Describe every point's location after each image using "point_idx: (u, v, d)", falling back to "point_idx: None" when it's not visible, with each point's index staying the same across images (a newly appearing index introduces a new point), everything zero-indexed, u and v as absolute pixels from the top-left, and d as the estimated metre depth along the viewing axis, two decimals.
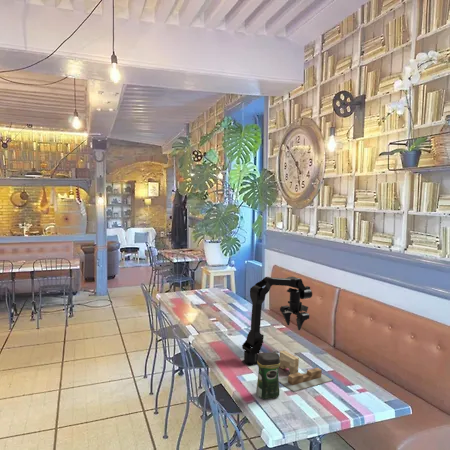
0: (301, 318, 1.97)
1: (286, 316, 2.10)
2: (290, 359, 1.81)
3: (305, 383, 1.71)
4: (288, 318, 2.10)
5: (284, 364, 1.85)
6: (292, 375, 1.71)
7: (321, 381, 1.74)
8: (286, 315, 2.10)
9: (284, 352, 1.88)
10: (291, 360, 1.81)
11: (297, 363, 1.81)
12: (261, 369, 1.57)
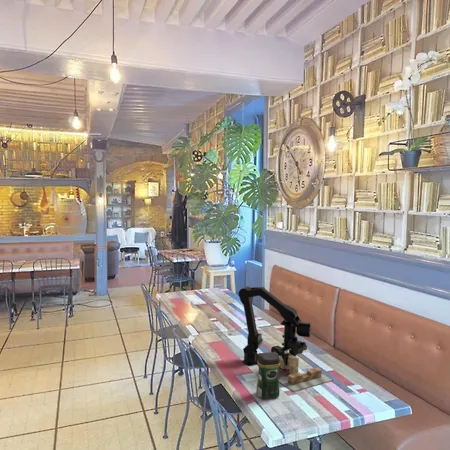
0: (271, 350, 1.82)
1: (290, 353, 1.87)
2: (290, 359, 1.81)
3: (305, 383, 1.71)
4: None
5: (284, 364, 1.85)
6: (292, 375, 1.71)
7: (321, 381, 1.74)
8: (290, 352, 1.87)
9: None
10: (291, 360, 1.81)
11: (297, 363, 1.81)
12: (261, 369, 1.57)
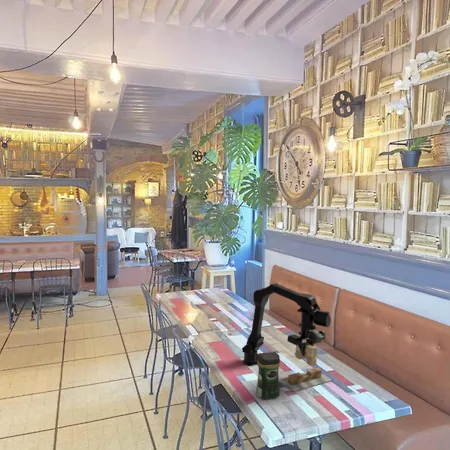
0: None
1: (307, 342, 1.76)
2: (308, 349, 1.70)
3: (305, 383, 1.71)
4: None
5: (301, 354, 1.75)
6: (292, 375, 1.71)
7: (321, 381, 1.74)
8: (307, 341, 1.76)
9: None
10: (309, 350, 1.70)
11: (315, 353, 1.70)
12: (261, 369, 1.57)
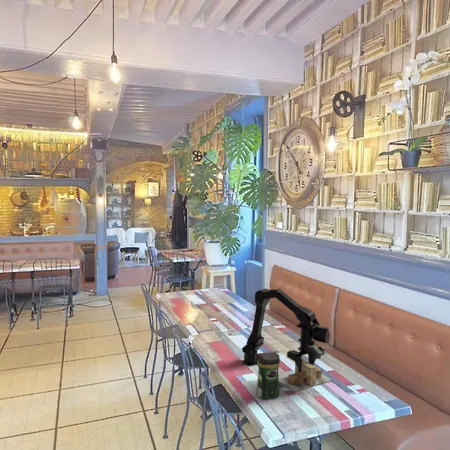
0: (287, 355, 1.72)
1: (309, 357, 1.77)
2: (307, 368, 1.71)
3: (305, 383, 1.71)
4: (311, 361, 1.76)
5: None
6: (292, 375, 1.71)
7: (321, 381, 1.74)
8: (309, 356, 1.77)
9: None
10: (308, 369, 1.70)
11: (314, 372, 1.70)
12: (261, 369, 1.57)
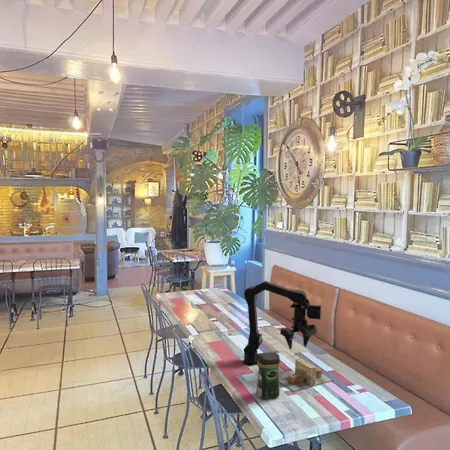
0: None
1: None
2: (307, 368, 1.71)
3: (305, 383, 1.71)
4: (305, 339, 1.87)
5: None
6: (292, 375, 1.71)
7: (321, 381, 1.74)
8: None
9: (300, 360, 1.77)
10: (308, 369, 1.70)
11: (314, 372, 1.70)
12: (261, 369, 1.57)
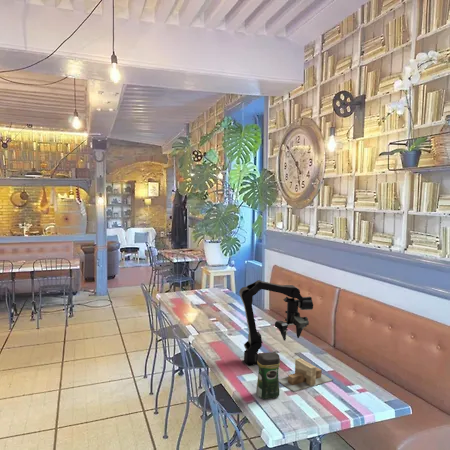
0: (275, 324, 1.93)
1: (297, 327, 1.99)
2: (307, 368, 1.71)
3: (305, 383, 1.71)
4: (298, 330, 1.98)
5: None
6: (292, 375, 1.71)
7: (321, 381, 1.74)
8: (297, 326, 1.99)
9: (300, 360, 1.77)
10: (308, 369, 1.70)
11: (314, 372, 1.70)
12: (261, 369, 1.57)
